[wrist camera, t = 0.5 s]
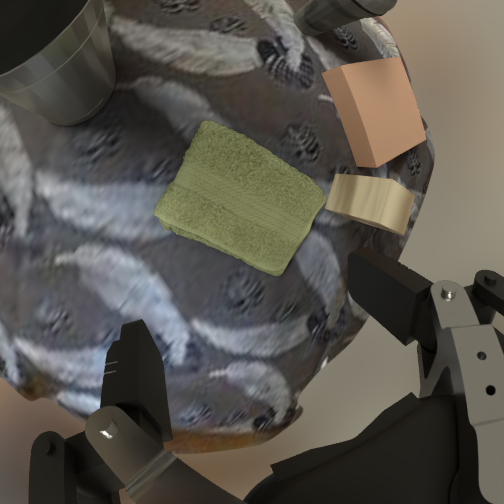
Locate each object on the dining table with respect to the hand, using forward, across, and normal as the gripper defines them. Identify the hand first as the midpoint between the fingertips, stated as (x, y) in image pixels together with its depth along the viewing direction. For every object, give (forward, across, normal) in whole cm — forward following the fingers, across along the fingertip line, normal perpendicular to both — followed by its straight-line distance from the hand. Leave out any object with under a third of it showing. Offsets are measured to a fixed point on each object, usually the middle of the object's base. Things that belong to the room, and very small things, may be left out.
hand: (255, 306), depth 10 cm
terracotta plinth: (+25, -28, -7) cm, 38 cm away
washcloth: (+22, -6, +2) cm, 23 cm away
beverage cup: (+25, -20, -21) cm, 38 cm away
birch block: (+23, -20, +5) cm, 31 cm away
